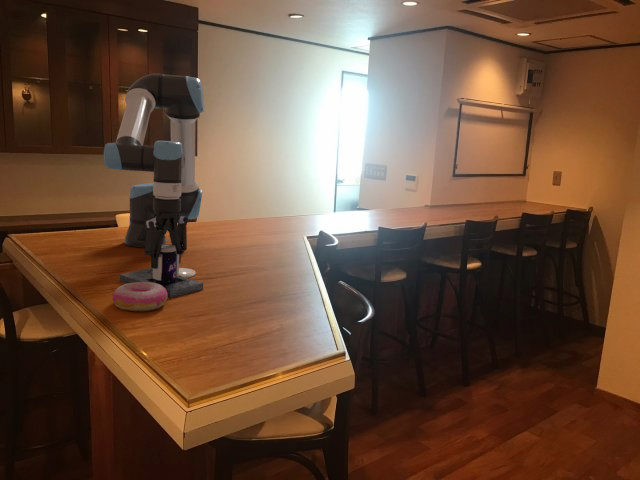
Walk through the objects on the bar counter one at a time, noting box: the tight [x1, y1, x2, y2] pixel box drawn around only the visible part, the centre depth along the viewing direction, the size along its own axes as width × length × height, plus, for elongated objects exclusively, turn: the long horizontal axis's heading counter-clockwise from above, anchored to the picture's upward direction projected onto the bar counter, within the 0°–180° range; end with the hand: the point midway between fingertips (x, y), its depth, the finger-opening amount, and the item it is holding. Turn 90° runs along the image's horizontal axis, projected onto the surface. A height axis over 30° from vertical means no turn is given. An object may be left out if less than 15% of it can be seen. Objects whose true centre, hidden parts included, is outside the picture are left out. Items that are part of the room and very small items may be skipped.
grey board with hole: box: [119, 267, 204, 299], centre depth 152 cm, size 22×12×2 cm, turn 56°
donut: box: [112, 282, 169, 312], centre depth 134 cm, size 14×13×5 cm
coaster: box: [179, 267, 196, 278], centre depth 165 cm, size 10×10×1 cm
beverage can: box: [156, 243, 177, 286], centre depth 150 cm, size 6×6×12 cm
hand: (165, 277), depth 151 cm, fingers closed on beverage can, 6 cm apart
